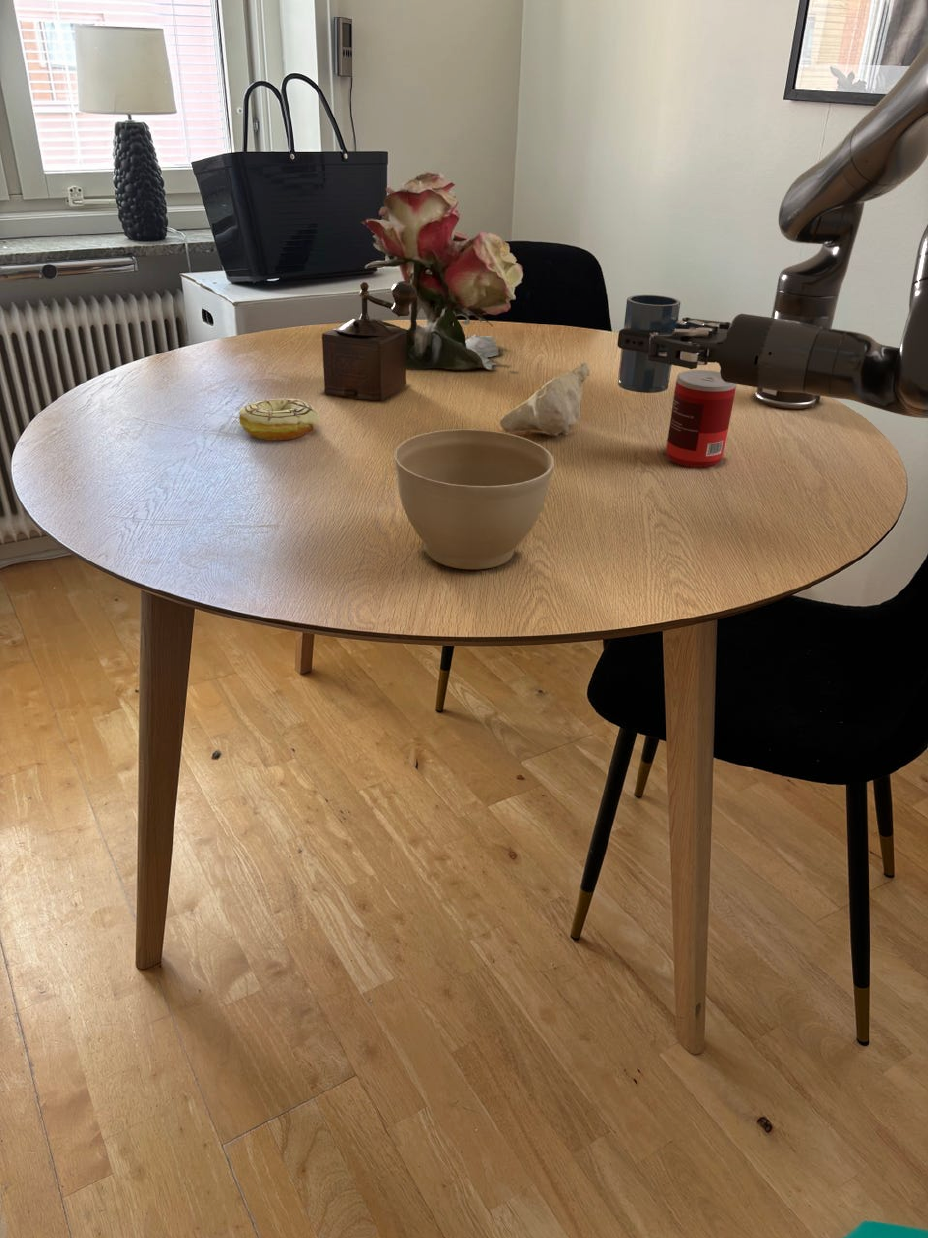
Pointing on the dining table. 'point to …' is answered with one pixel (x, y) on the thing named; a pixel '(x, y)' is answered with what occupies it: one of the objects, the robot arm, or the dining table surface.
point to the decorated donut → (278, 418)
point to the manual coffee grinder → (368, 351)
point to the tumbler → (634, 365)
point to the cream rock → (550, 405)
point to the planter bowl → (472, 493)
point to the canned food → (699, 418)
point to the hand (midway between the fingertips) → (630, 332)
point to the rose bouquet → (443, 273)
